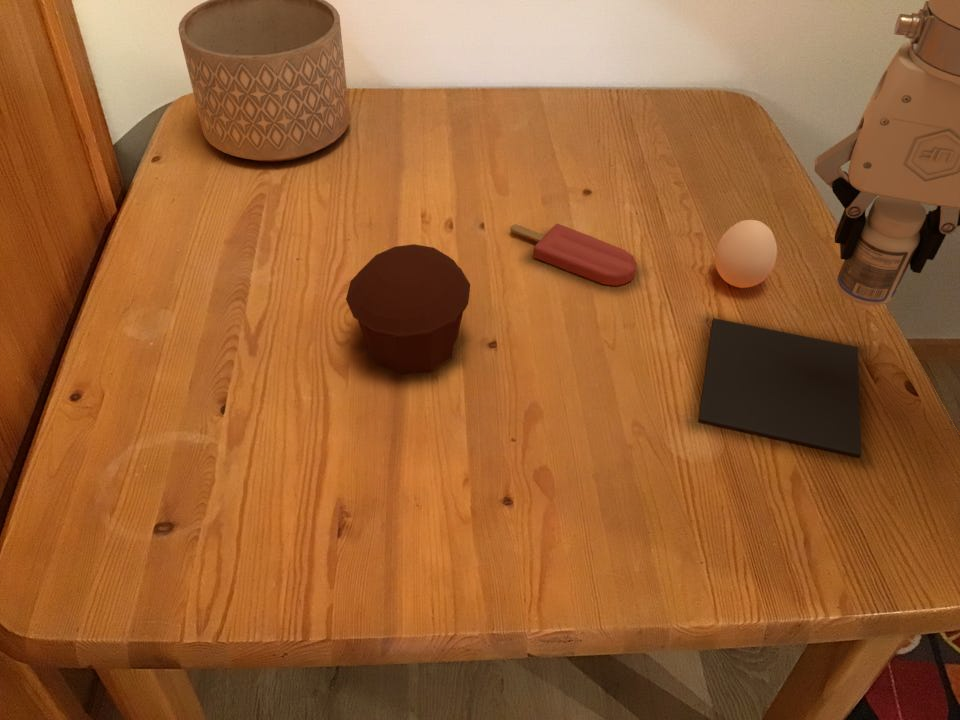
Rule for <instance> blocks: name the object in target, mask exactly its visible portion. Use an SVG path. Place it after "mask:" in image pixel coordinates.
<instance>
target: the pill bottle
mask: <svg viewBox="0 0 960 720" xmlns="http://www.w3.org/2000/svg"><path fill="white" fill-rule="evenodd" d="M926 214H927V210H926V208H925V207H924V206H923V205H922V203H918V202H912V201H906V200H901V199H895V198H889V197H883V196H876V197H875V199H874V200H873V201H872V203H871V207H870V209H869V210H868V214H867V215H865V217H866V223H865V226H864V228H863V231H862V233H861V235H860V238H859V240H858V243H857V245H856V247H855V250H854V252H853V254H852V257H851V259H848V260H844V259H843V262H842V265H841V267H840V270H839V272H838V275H837V276H836V285H837V289H838V290H839V291H840V292H841V293H842V294H843V295H844V296H845V297H846V298H847V299H849V300H851V301H852V302H853V303H856V304H860V305H863V306H869V307H870V306H881V305H884V304H887V303H889V302H890V301H891V300H892V299H893V298H894V296H895V294H896V293H897V291H898V289H899V286H900V284H901V282H902V279H903V278H904V276H905V274H906V272H907V269H908V267H909V266H910V261H911V259H912V257H913V255H914V253H915V251H916V249H917V247H918V245H919V242H920V232H919V231H920V229H921V227H922V225H923V223H924V221H925V218H926Z"/></svg>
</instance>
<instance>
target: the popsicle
mask: <svg viewBox="0 0 960 720" xmlns="http://www.w3.org/2000/svg"><path fill="white" fill-rule="evenodd" d="M509 230H510V231H511V232H512V233H514V234H517V235H519V236H521V237H524V238H527V239H530V240H532V241H535V242H537V243H536V244H535V245H534V247H533V251H532V257H533V258H534V259H537V260H538V261H542V262H544V263H546V264H549V265H552V266H554V267H557V268H559V269H562V270H564V271H567V272H569V273H572V274H575V275H578V276H580V277H582V278H586V279H588V280H591V281H594V282H595V283H596V282H597V283H599V284H602V285H605V286H606V285H607V286H613V287H616V286H622V285H625V284H627V283H629V282H631V281H632V280H633V278H634V277H635V274H636V269H637V261H636V259H635V257H634V255H633V254H632V253H630V252H628V251H627V250H625V249H624V248H621V247H619V246H616V245H614V244H611V243H609V242H606V241H604V240H601V239H599V238H596V237H593V236H591V235H588V234H586V233H584V232H581V231H578V230H576V229H573V228H571V227H568V226H565V225H562V224H560V223H555V224H554V225H553V226H552V227H551V228H550V229H549V231H547V233H546V234H542V233H540V232H538V231H534V230H532V229H529V228H527V227H524V226H521V225H519V224H512V225H511V226H510V228H509Z"/></svg>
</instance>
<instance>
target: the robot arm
mask: <svg viewBox="0 0 960 720" xmlns="http://www.w3.org/2000/svg"><path fill="white" fill-rule="evenodd" d="M893 34H894V35H896V36H903V37H904V38H905V39H909V41H906V42H904V43H903V44H902V45H901V46H900V47H899V49H898V50H897V51H896V52H895V54H894V56H893V58H892V59H891V60H890V61H889V64H888V66H886V69H885V71H884V72H883V74H882V75H881V77H880V79H879V81H878V83H877V85H876V87H875V89H874V91H873V93H872V95H871V97H870V99H869V101H868V102H867V105H866V107H865V109H864V111H863V113H862V115H861V117H860V119H859V122H858V124H857V126H856V129H855V131H854V132H852V133H850V134H849V135H847V136H846V137H845V138H843V139H841V140H840V141H839V142H837V143H836V144H834V145H833V146H831V147H830V148H828V149H826V150H825V151H823V152H822V153H821V154H820V155H818V156H817V157H816V158H815V159H814V172H815V173H816V175H817V176H819V178H820V179H821V180H822V181H823V182H824V183H825V184H826V185H828V187H830V188H831V190H832V193H833V194H834V195H835V197H836V198H837V200H838V201H839V202H840V204H841V205H842V207H843V208H844V209H843V211H842V214H841V217H840V219H839V222H838V224H837V227H836V230H835V233H834V243H835V244H839V252H840V256H839V257H840V260H843V261H844V260H848V259H851V257H852V254H853V252H854V250H855V247H856V245H857V243H858V240H859V238H860V235H861V233H862V231H863V228H864V226H865V223H866V211H867V209H868V208H869V206H870V205H872V203H873V202H874V200H875V199H876V198H877V197H879V196H883V197H889V198H895V199H901V200H906V201H912V202H918V203H920V204H924V205H925V204H926V205H931V206H936V208H935V209H933V210H929V211H928V213H926V218H925V221H924V223H923V225H922V227H921V229H920V231H919V232H920V242H919V245H918V247H917V249H916V251H915V253H914V255H913V257H912V259H911V261H910V263H909V270H910V271H912V273H915V274H921V273H922V271H923V269H924V267H925V265H926V264H927V261H928V260H929V261H934V259H935V258H936V256H937V254H938V252H939V250H940V248H941V246H942V244H943V242H944V240H945V238H946V236H947V235H952V234H953V233H955V232H956V231H957V229H958V227H960V0H925V1H924V5H923V7H922V8H920V9H919V10H918V12H917V13H915V12H912V13H911V14H906V13H900V14H898V17H897V19H896V21H895V25H894V30H893ZM848 162H849V165H848V170H847V171H848V172H847V171H844V170H843V169H842V166H843V165H845V164H846V163H848Z"/></svg>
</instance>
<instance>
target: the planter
mask: <svg viewBox="0 0 960 720" xmlns="http://www.w3.org/2000/svg"><path fill="white" fill-rule="evenodd" d="M340 17H341V16H340V14H339V12H338V10H337V9H336V8H335V7H334V5H333V4H331V3H330V2H328V1H327V0H206V1H204V2H202V3H199V4H198V5H196V6H195V7H193V8H192V9H190V10H189V11H187V12H186V13H185V15H183V17H182V18H181V20H180V22H179V24H178V27H177V29H178V36H179V39H180V43H181V46H182V51H183V56H184V60H185V64H186V68H187V73H188V76H189V80H190V85H191V89H192V93H193V97H194V101H195V105H196V110H197V113H198V117H199V121H200V126H201V131H202V134H203V136H204V138H205V139H206V141H207V142H208V143H209V144H210V145H211V146H212V147H214V148H215V149H217V150H218V151H221V152H223V153H224V154H227V155H230V156H233V157H236V158H242V159H246V160H251V161H254V162H255V161H258V162H269V163H270V162H271V163H272V162H273V163H274V162H286V161H291V160H292V161H293V160H297V159H300V158H303V157H307V156H310V155H312V154H314V153H316V152H318V151H319V150H322V149H324V148H326V147H328V146H330V145H331V144H333V143H334V142H335V141H337V140H338V139H339V138H340V137H342V135H343V134H344V133H345V132H346V130H347V128H348V127H349V124H350V120H351V115H350V107H349V106H350V105H349V95H348V87H347V74H346V66H345V65H346V64H345V56H344V48H343V47H344V46H343V36H342V26H341V18H340Z"/></svg>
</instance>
